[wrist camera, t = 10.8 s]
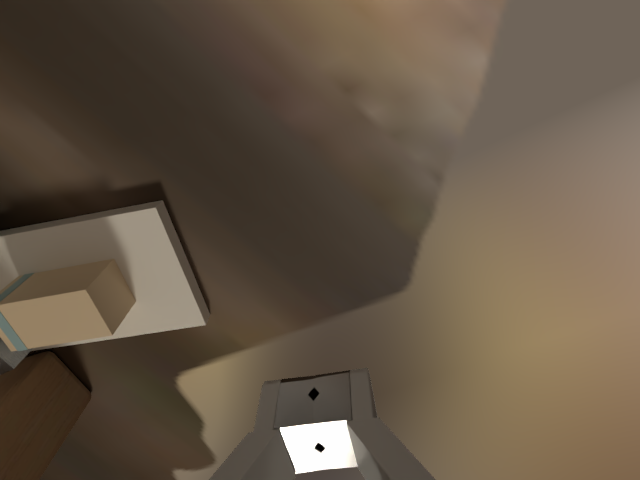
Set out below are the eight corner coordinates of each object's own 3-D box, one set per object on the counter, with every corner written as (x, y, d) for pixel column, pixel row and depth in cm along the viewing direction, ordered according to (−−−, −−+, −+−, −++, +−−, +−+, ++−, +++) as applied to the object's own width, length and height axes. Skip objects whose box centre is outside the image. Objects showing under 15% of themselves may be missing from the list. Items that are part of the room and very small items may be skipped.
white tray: (-62, 242, 47) (-78, 251, 45) (162, 200, 44) (155, 207, 42) (13, 344, 54) (2, 355, 52) (210, 314, 51) (206, 324, 49)
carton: (114, 258, 45) (18, 275, 46) (85, 289, 40) (-23, 308, 41) (136, 301, 48) (45, 316, 49) (112, 336, 42) (11, 352, 44)
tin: (-6, 327, 50) (-39, 356, 46) (17, 316, 49) (-14, 345, 45) (18, 349, 52) (-11, 379, 47) (41, 339, 51) (13, 369, 46)
